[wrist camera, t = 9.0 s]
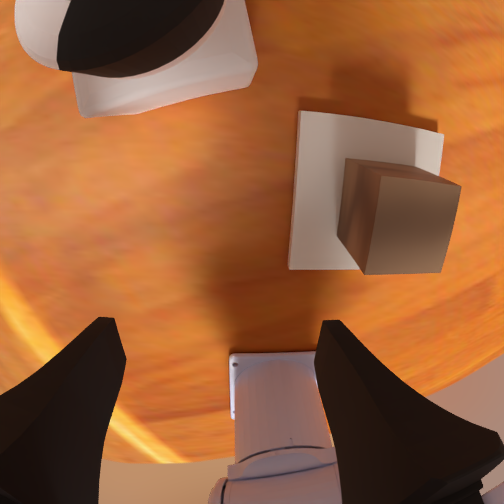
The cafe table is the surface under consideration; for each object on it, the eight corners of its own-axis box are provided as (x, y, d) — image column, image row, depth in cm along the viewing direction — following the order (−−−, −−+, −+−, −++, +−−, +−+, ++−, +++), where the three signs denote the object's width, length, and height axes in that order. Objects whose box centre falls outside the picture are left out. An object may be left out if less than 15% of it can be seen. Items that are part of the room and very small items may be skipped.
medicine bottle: (229, -16, 13) (222, -146, 2) (251, 87, 16) (277, 38, 5) (115, 15, 13) (-5, -53, 2) (133, 115, 16) (-4, 136, 5)
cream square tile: (413, 263, 21) (418, 268, 21) (287, 264, 21) (289, 269, 20) (437, 133, 17) (444, 134, 16) (298, 110, 16) (300, 110, 16)
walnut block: (402, 237, 19) (440, 272, 15) (336, 235, 19) (364, 274, 15) (415, 166, 17) (461, 186, 13) (345, 158, 17) (381, 175, 12)
